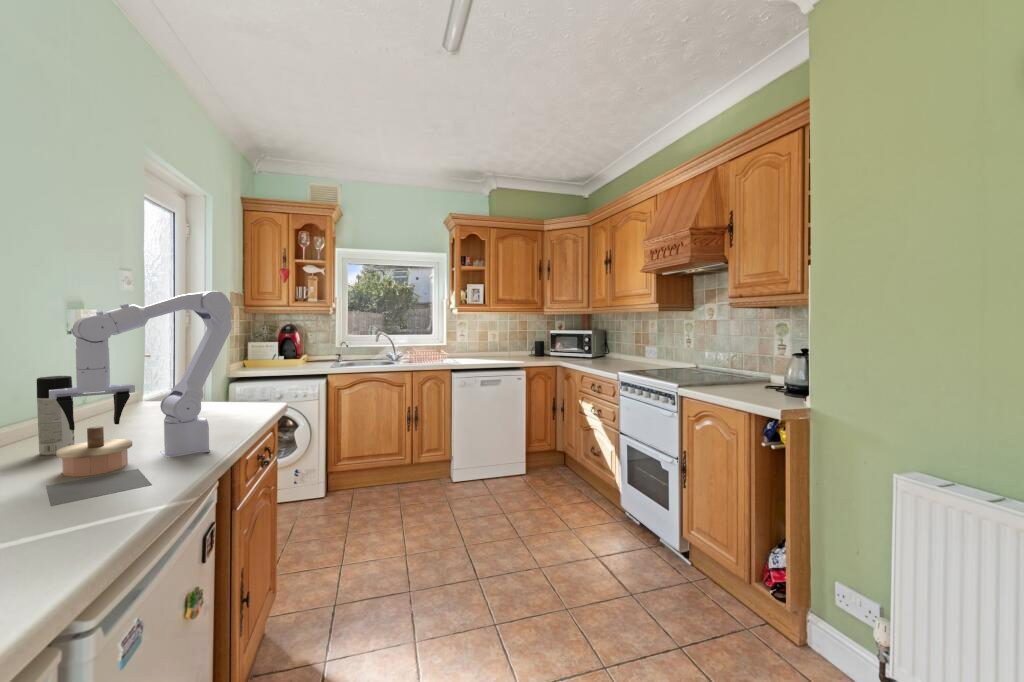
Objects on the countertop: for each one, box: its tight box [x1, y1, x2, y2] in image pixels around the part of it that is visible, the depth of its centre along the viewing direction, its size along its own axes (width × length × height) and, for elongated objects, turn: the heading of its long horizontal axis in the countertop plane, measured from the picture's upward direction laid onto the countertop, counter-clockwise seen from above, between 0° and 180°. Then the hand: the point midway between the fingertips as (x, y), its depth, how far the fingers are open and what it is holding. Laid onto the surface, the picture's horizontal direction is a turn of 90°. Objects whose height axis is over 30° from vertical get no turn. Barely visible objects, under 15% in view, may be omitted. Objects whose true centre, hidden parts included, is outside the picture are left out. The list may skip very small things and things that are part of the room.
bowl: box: [61, 449, 129, 478], centre depth 106 cm, size 11×11×5 cm
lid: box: [56, 425, 133, 459], centre depth 105 cm, size 13×13×5 cm
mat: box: [45, 468, 153, 507], centre depth 95 cm, size 15×15×1 cm
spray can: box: [36, 375, 76, 456], centre depth 119 cm, size 7×7×20 cm
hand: (94, 426), depth 105 cm, fingers open, 7 cm apart
